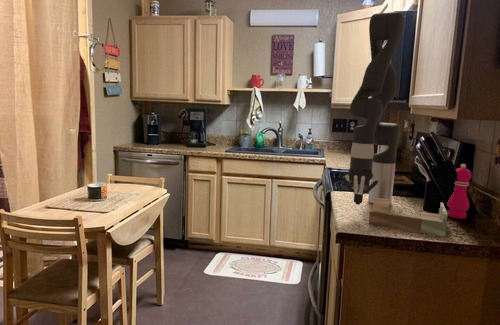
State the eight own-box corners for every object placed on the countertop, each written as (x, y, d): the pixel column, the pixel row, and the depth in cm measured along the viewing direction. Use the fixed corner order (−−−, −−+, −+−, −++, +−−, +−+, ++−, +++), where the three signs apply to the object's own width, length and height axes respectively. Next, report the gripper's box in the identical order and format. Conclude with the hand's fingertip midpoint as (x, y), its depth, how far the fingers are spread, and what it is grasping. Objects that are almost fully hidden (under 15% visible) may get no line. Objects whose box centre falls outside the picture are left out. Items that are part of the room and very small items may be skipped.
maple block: (373, 211, 131) (374, 197, 130) (388, 213, 129) (389, 199, 128) (372, 214, 126) (373, 200, 126) (387, 217, 124) (388, 202, 124)
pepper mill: (443, 215, 138) (449, 163, 135) (449, 212, 143) (455, 161, 140) (464, 220, 133) (471, 166, 130) (470, 216, 138) (477, 164, 135)
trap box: (373, 211, 139) (375, 193, 138) (441, 221, 130) (443, 202, 129) (368, 224, 124) (370, 204, 123) (445, 236, 115) (447, 215, 114)
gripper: (382, 156, 128) (378, 204, 131) (344, 153, 134) (340, 199, 136) (381, 159, 122) (376, 209, 124) (340, 155, 127) (337, 203, 130)
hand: (357, 203), depth 130 cm, fingers closed
